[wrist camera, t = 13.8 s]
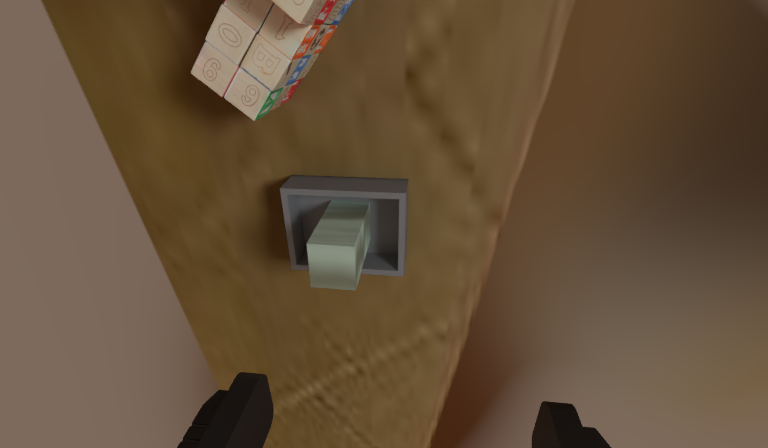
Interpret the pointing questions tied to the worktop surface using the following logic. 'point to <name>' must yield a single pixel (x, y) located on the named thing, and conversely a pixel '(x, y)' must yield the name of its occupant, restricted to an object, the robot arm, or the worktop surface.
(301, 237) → the bin
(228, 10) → the stack of blocks
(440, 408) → the worktop surface
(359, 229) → the sage block
